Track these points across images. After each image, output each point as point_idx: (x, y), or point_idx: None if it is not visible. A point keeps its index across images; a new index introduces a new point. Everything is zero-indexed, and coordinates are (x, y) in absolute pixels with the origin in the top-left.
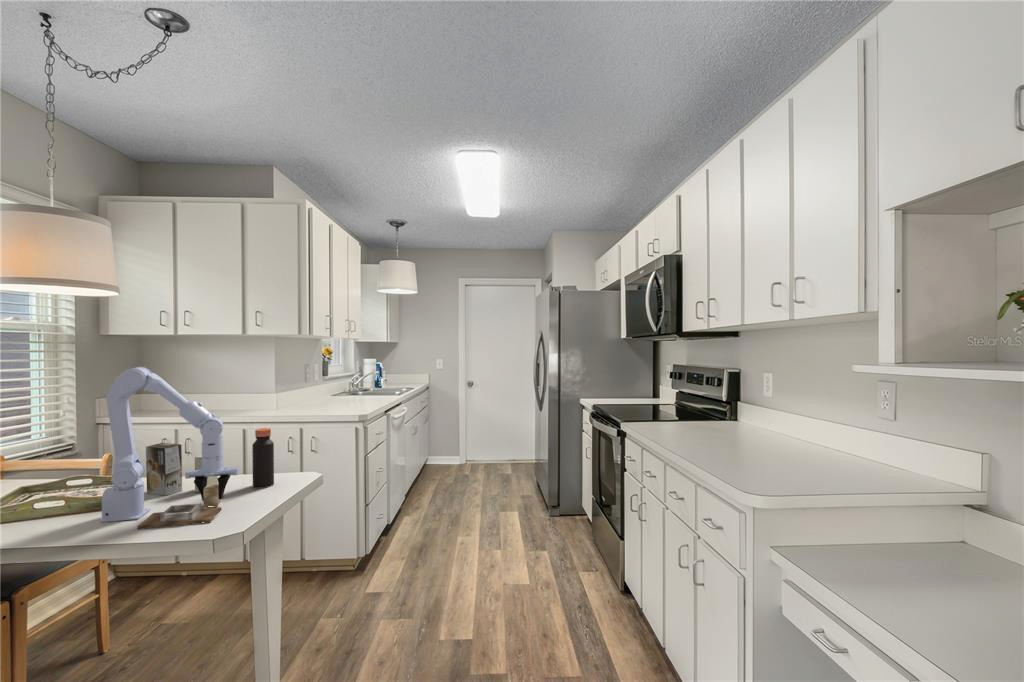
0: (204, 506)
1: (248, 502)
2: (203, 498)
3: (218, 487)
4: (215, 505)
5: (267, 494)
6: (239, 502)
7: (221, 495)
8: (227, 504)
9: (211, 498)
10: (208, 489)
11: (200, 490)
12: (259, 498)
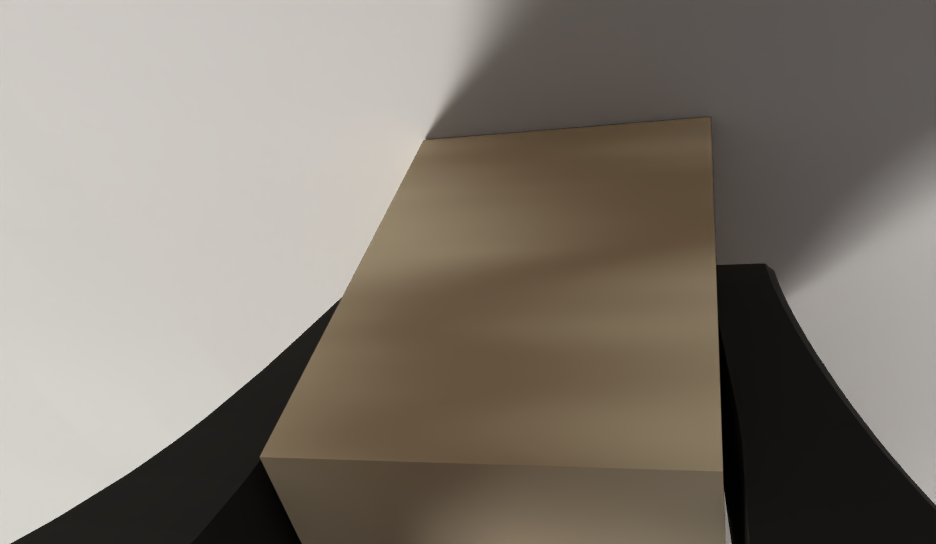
0: (693, 136)
1: (26, 262)
2: (738, 287)
3: (289, 492)
4: (465, 154)
5: (25, 500)
6: (172, 291)
7: (315, 327)
8: (315, 235)
9: (512, 240)
10: (552, 434)
11: (839, 448)
12: (4, 391)
